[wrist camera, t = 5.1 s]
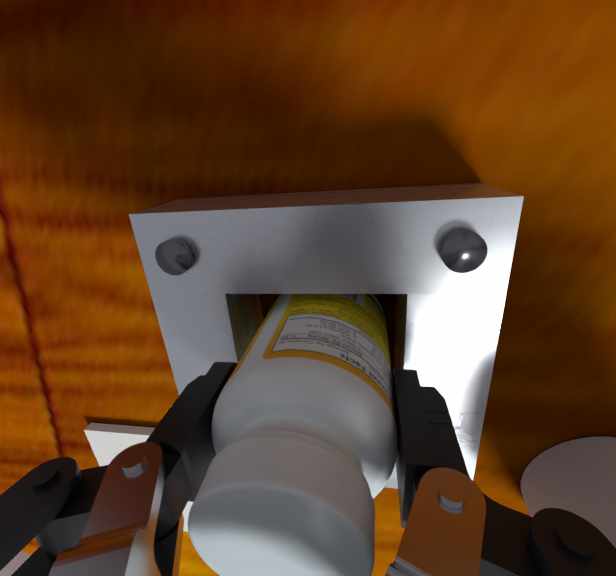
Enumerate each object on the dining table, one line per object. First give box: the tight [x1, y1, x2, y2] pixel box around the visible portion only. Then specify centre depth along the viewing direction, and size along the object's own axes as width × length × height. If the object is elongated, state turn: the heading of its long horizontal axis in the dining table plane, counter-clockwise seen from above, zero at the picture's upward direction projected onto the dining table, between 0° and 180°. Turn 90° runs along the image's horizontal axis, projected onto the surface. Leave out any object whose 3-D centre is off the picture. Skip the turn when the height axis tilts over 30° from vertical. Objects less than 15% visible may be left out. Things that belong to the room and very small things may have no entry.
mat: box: [84, 423, 193, 532], centre depth 22 cm, size 9×9×1 cm
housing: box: [129, 183, 524, 488], centre depth 14 cm, size 12×12×4 cm
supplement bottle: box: [188, 294, 398, 576], centre depth 11 cm, size 5×5×10 cm
